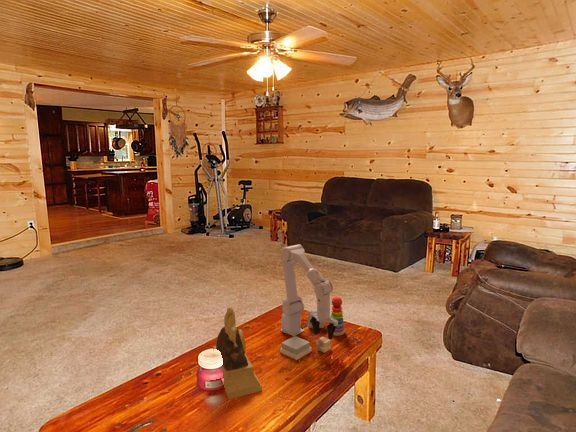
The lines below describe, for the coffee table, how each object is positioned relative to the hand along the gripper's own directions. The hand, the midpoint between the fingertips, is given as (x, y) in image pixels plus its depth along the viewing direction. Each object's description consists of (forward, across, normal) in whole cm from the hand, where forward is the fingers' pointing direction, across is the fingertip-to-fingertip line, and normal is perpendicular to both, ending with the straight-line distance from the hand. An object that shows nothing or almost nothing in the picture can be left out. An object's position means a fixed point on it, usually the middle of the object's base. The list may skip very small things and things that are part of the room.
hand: (323, 336), depth 176 cm
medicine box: (+6, -17, +16) cm, 24 cm away
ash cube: (+6, 0, 0) cm, 6 cm away
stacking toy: (+6, -5, +17) cm, 19 cm away
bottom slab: (+7, -8, -10) cm, 15 cm away
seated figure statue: (+7, -14, -40) cm, 43 cm away
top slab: (+4, -8, -10) cm, 14 cm away
